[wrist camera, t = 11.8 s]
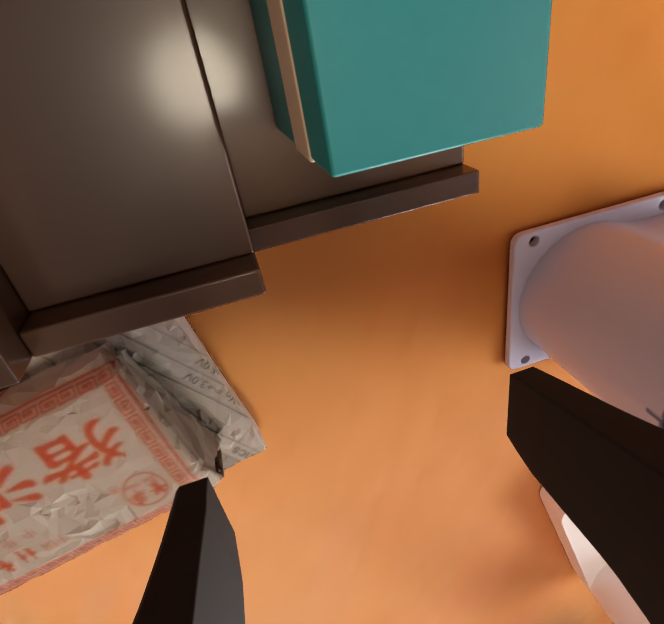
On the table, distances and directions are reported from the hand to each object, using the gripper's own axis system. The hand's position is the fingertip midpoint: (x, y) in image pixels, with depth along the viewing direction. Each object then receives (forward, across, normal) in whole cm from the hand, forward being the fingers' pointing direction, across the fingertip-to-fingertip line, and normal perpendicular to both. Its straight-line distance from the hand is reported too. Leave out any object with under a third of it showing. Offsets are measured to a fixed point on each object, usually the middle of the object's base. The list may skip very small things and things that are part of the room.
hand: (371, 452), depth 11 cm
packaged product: (+11, +13, +5) cm, 17 cm away
